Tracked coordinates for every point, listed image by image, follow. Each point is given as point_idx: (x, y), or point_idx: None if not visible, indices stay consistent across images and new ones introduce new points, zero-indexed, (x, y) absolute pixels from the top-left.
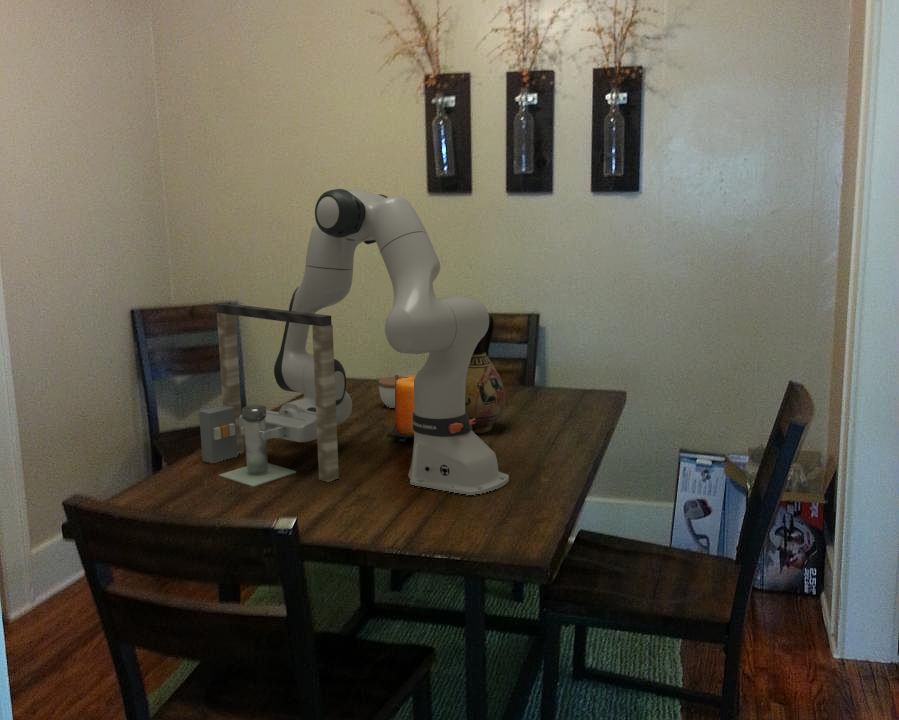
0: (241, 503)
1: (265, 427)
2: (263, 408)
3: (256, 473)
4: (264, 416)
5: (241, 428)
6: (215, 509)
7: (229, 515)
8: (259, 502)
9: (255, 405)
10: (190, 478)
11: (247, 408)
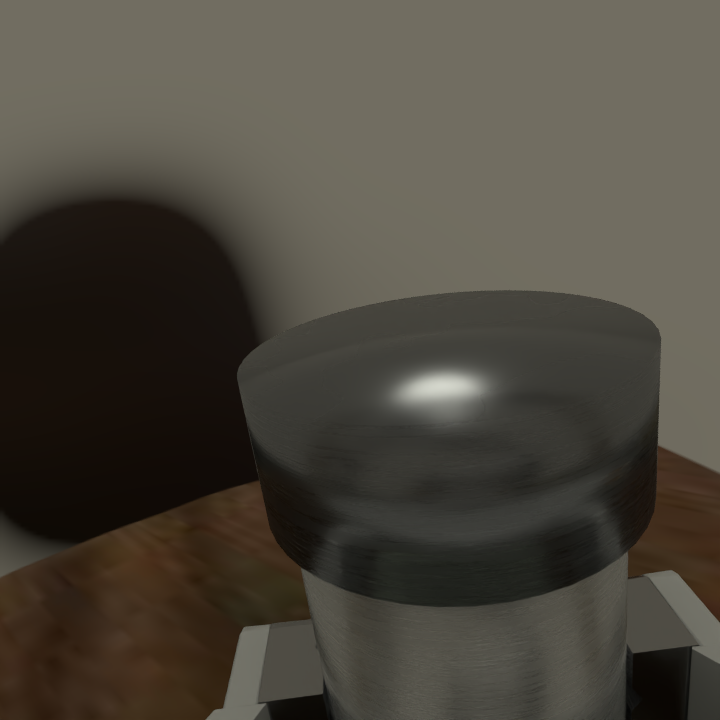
0: (184, 592)
1: (345, 703)
2: (270, 383)
3: None
4: (264, 501)
5: (661, 574)
6: (241, 522)
7: (158, 526)
8: (107, 640)
9: (602, 366)
10: (707, 607)
11: (488, 310)
